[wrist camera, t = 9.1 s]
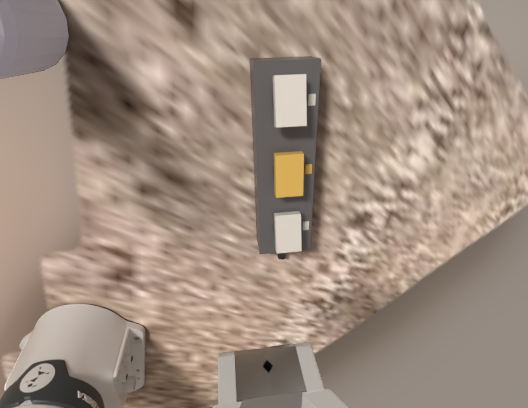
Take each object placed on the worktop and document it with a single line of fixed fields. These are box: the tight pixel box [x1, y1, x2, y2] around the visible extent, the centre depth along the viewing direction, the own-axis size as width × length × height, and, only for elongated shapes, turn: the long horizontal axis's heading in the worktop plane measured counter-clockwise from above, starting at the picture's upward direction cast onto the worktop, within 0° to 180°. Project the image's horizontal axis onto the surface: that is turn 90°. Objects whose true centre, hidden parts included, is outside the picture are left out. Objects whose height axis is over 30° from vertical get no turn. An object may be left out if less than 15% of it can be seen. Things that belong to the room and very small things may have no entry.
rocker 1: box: [273, 74, 307, 128], centre depth 33 cm, size 5×3×1 cm, turn 1°
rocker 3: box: [274, 211, 302, 253], centre depth 40 cm, size 5×3×1 cm, turn 1°
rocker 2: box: [274, 151, 304, 198], centre depth 36 cm, size 5×3×1 cm, turn 1°
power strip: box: [250, 57, 321, 259], centre depth 40 cm, size 27×7×5 cm, turn 1°
